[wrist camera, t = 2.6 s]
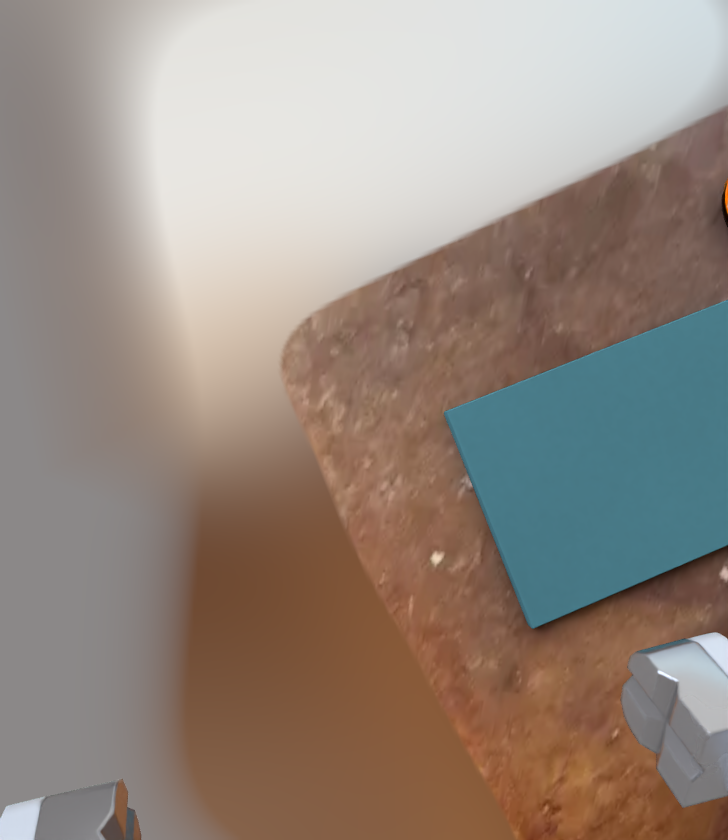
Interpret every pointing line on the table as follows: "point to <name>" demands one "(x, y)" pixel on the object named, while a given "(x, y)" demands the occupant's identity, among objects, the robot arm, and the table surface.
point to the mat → (605, 465)
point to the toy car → (725, 202)
